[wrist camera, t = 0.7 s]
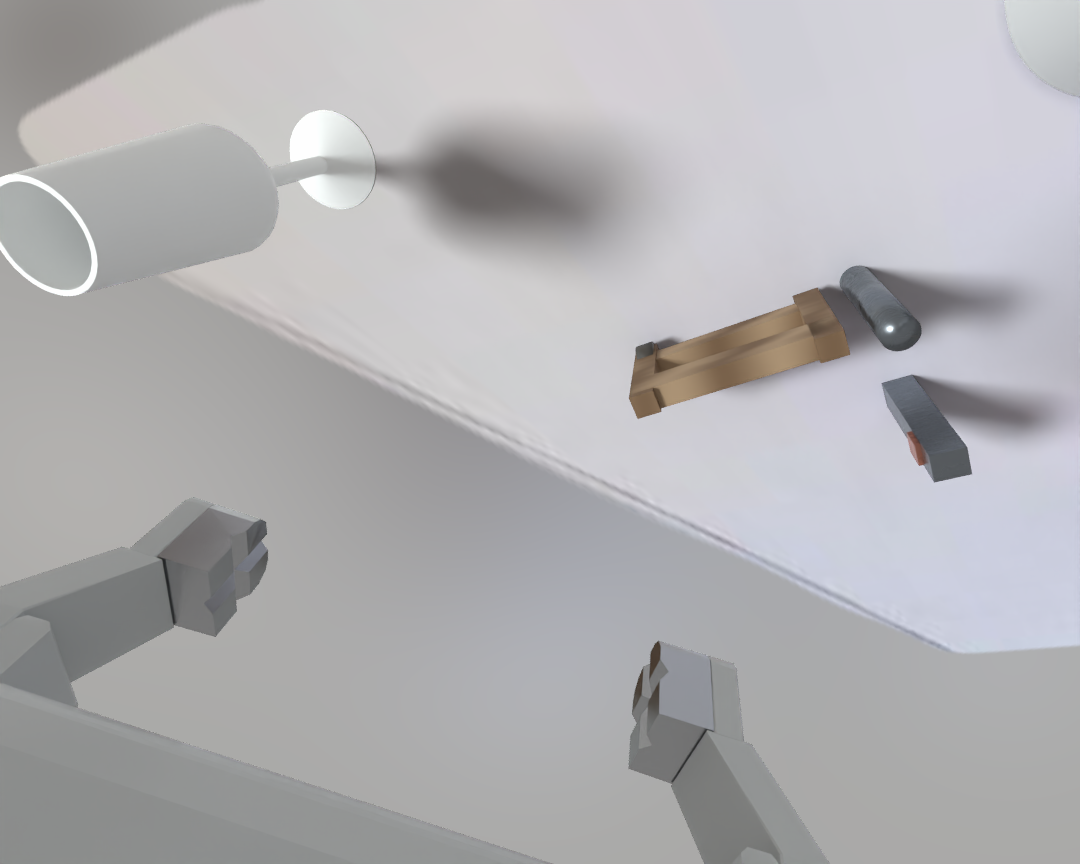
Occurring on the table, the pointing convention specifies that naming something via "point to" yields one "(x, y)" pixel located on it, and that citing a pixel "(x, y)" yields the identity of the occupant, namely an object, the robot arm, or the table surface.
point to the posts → (907, 379)
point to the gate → (737, 354)
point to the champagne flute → (169, 201)
